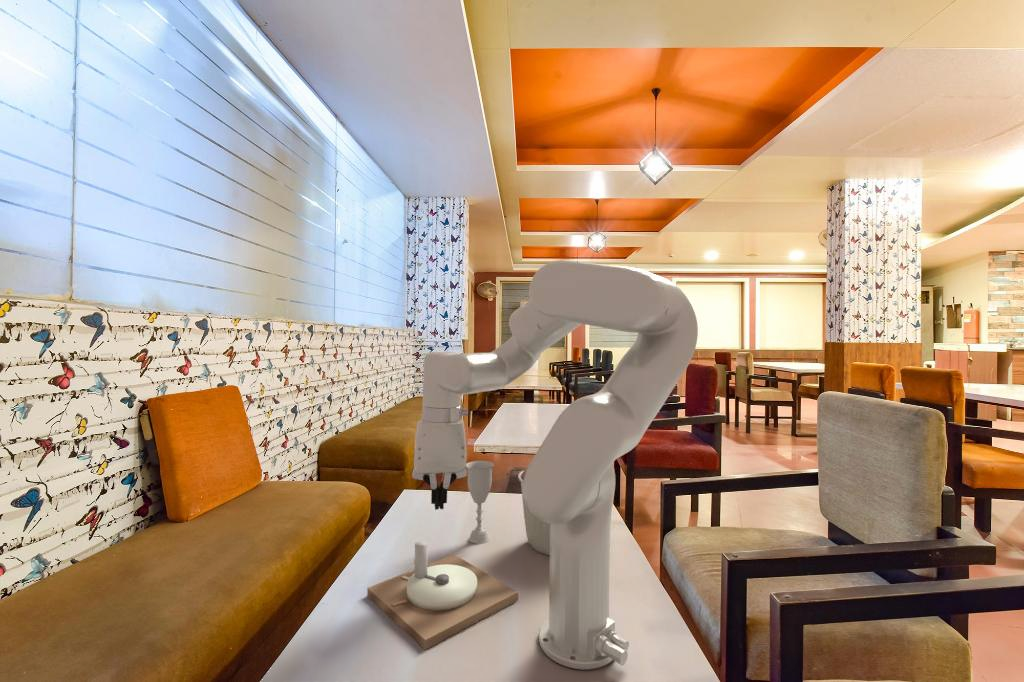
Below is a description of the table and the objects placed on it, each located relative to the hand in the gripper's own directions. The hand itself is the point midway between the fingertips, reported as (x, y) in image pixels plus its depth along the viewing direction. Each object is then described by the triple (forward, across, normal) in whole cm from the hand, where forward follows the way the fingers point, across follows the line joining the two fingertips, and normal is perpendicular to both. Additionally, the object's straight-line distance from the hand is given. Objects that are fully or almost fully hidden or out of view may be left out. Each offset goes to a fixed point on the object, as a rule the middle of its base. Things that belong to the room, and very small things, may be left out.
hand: (438, 506), depth 90 cm
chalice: (+15, -11, -18) cm, 26 cm away
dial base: (+15, -1, +6) cm, 16 cm away
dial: (+13, -1, +6) cm, 15 cm away
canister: (+15, -28, -10) cm, 34 cm away
